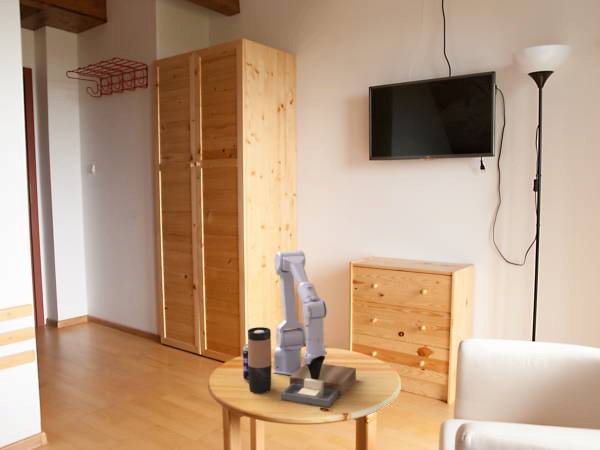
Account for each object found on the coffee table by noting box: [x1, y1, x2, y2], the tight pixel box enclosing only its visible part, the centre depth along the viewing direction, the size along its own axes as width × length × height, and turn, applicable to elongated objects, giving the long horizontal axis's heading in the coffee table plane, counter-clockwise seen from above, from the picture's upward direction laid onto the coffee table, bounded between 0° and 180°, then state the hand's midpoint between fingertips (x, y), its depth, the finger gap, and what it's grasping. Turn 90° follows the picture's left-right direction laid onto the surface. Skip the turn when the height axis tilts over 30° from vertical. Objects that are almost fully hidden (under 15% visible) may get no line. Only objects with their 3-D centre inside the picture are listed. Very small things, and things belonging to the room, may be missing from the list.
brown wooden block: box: [289, 363, 357, 398], centre depth 173 cm, size 18×16×4 cm
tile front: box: [297, 388, 320, 398], centre depth 161 cm, size 6×4×2 cm
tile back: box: [304, 378, 324, 397], centre depth 164 cm, size 6×4×2 cm
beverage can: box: [242, 343, 249, 382], centre depth 178 cm, size 6×6×12 cm
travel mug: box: [247, 326, 272, 395], centre depth 169 cm, size 8×8×20 cm
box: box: [280, 383, 339, 409], centre depth 162 cm, size 16×9×2 cm, turn 67°
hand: (315, 378), depth 166 cm, fingers closed
